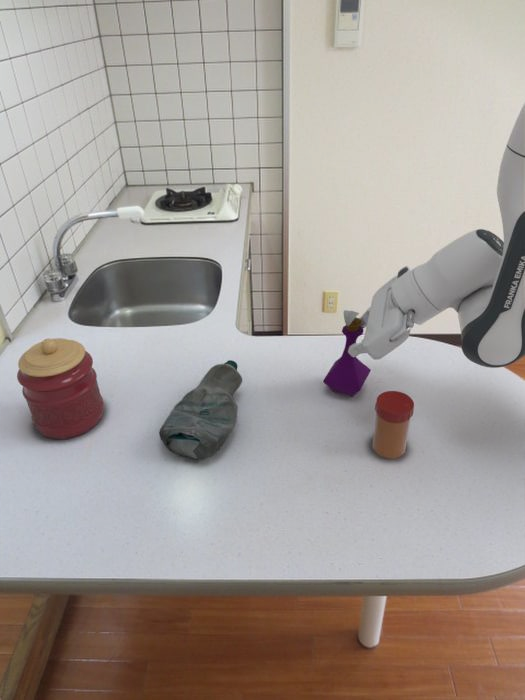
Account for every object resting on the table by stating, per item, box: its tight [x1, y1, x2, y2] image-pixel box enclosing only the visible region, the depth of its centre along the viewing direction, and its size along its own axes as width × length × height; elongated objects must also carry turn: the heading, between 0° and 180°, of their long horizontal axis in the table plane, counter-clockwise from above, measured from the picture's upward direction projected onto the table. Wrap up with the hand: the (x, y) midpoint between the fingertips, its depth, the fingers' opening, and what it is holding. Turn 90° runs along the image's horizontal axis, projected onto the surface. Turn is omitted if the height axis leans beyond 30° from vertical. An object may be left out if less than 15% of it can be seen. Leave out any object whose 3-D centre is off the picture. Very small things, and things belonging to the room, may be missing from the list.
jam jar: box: [371, 412, 412, 460], centre depth 89 cm, size 6×6×10 cm
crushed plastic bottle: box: [158, 359, 243, 460], centre depth 97 cm, size 13×7×25 cm
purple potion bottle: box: [322, 309, 372, 398], centre depth 100 cm, size 8×8×18 cm
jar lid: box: [374, 390, 415, 423], centre depth 86 cm, size 6×6×2 cm
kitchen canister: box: [16, 337, 105, 440], centre depth 96 cm, size 13×13×18 cm
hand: (353, 338), depth 99 cm, fingers open, 8 cm apart
